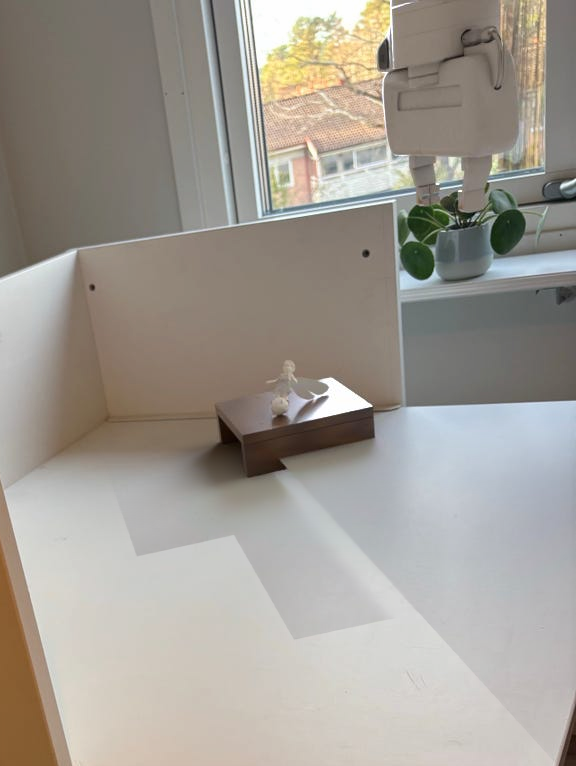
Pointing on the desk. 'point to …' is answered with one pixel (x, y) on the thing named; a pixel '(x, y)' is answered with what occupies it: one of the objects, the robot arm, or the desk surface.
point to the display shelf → (293, 425)
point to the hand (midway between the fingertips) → (448, 208)
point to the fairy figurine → (297, 384)
